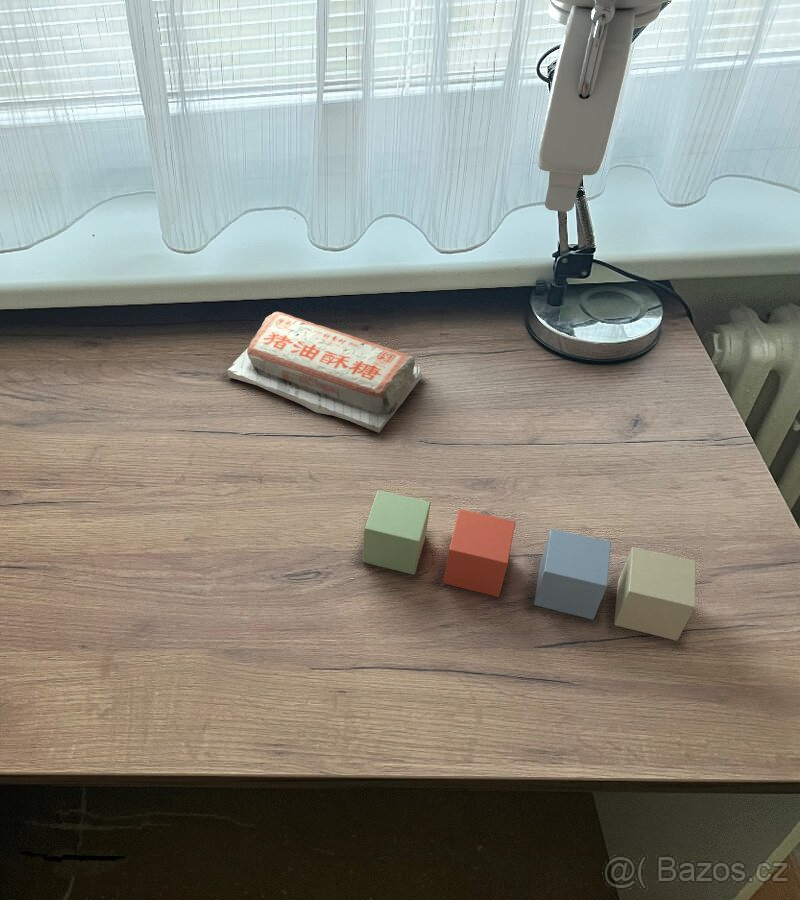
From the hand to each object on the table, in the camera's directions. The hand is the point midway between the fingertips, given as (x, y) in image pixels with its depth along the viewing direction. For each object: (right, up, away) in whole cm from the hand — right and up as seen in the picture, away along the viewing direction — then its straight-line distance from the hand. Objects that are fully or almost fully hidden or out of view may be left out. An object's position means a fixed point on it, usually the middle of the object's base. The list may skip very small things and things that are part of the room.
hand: (566, 171), depth 61 cm
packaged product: (-13, -12, +31) cm, 36 cm away
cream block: (+10, -32, +8) cm, 34 cm away
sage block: (-9, -28, +14) cm, 33 cm away
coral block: (-2, -29, +12) cm, 32 cm away
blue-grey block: (+4, -31, +10) cm, 33 cm away
